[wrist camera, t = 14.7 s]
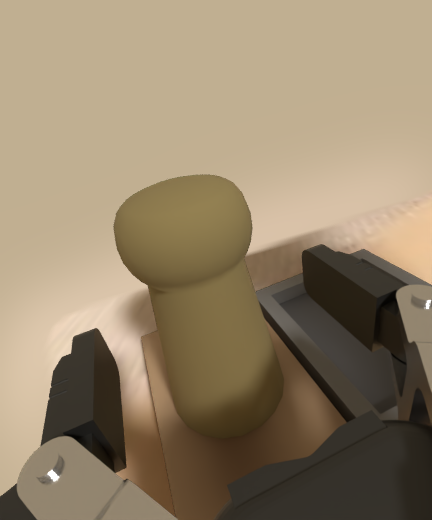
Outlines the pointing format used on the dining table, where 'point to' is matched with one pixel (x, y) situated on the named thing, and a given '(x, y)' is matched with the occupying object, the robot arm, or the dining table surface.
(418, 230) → the dining table surface
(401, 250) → the dining table surface
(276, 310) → the shallow grey tray
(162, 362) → the light brown wooden board
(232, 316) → the cork
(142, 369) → the dining table surface
